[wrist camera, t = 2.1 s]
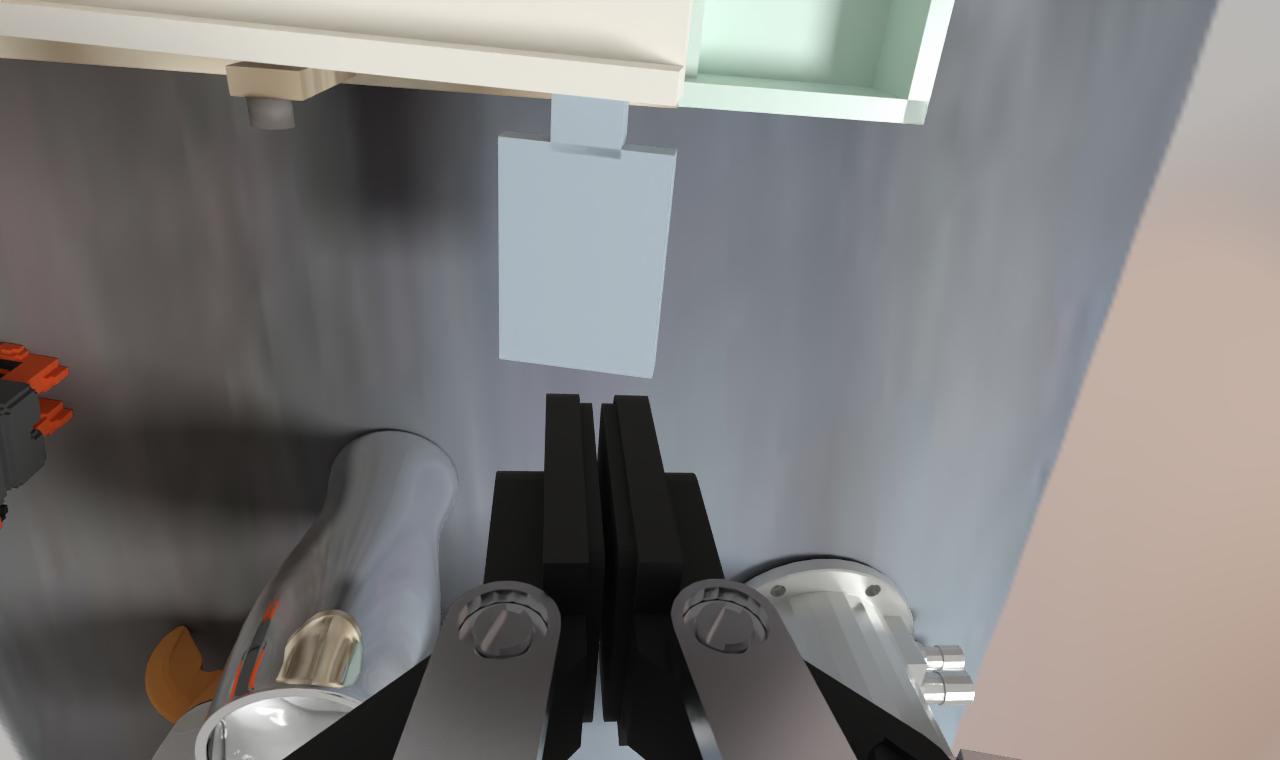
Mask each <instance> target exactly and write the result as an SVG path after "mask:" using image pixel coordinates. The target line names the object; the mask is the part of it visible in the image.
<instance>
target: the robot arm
mask: <svg viewBox="0 0 1280 760" xmlns="http://www.w3.org/2000/svg"><path fill="white" fill-rule="evenodd" d="M913 635H914V623H913V616H912V613H911V611H910V608H909V606H908V604H907V602H906V600H905V599H904V597H903V595H902V594H901V592H900V590H899V589H898V587H897V586H896V585H895V584H894V583H893V582H892V581H891V580H890V579H889V578H888V577H887V576H885V575H883V574H882V573H880V572H878V571H877V570H875V569H873V568H871V567H868V566H865V565H863V564H860V563H857V562H852V561H846V560H840V559H813V560H806V561H799V562H794V563H790V564H787V565H783V566H780V567H777V568H774V569H771V570H769V571H767V572H765V573H763V574H760V575H758V576H756V577H754V578H753V579H751V580H749V581H748V582H746V583H745V584H742V583H740V582H735V581H731V580H726V579H725V578H724V574H723V570H722V567H721V563H720V560H719V556H718V552H717V549H716V545H715V542H714V538H713V534H712V531H711V527H710V524H709V520H708V516H707V513H706V509H705V506H704V502H703V498H702V495H701V491H700V488H699V484H698V480H697V478H696V475H695V474H694V473H664V468H663V464H662V459H661V455H660V450H659V445H658V441H657V436H656V431H655V427H654V422H653V418H652V413H651V408H650V404H649V399H648V396H629V395H615V396H614V401H613V404H605V403H602V405H601V415H600V429H599V444H598V458H597V456H596V444H595V433H594V421H593V409H592V403H580V398H579V394H546V426H545V462H544V471H497V473H496V479H495V487H494V496H493V505H492V513H491V522H490V531H489V539H488V548H487V557H486V566H485V574H484V583H483V585H480V586H478V587H476V588H474V589H472V590H470V591H468V592H466V593H464V594H463V595H462V596H461V597H460V598H459V599H458V600H456V601H455V602H454V603H453V604H452V606H451V608H450V610H449V611H448V613H447V615H446V616H445V619H444V622H443V624H442V627H441V630H440V633H439V635H438V638H437V641H436V643H435V646H434V649H433V652H432V654H431V655H429V656H428V657H427V658H425V659H424V660H422V661H421V662H419V663H418V664H417V665H415V666H414V667H412V668H411V669H410V670H408V671H407V672H405V673H404V674H403V675H401V676H400V677H398V678H397V679H395V680H394V681H393V682H391V683H390V684H388V685H387V686H386V687H384V688H383V689H381V690H380V691H378V692H377V693H376V694H374V695H373V696H371V697H370V698H369V699H367V700H366V701H364V702H363V703H361V704H360V705H359V706H357V707H356V708H354V709H353V710H352V711H350V712H349V713H347V714H346V715H345V716H343V717H342V718H340V719H339V720H337V721H336V722H335V723H333V724H332V725H330V726H329V727H328V728H326V729H325V730H323V731H322V732H320V733H319V734H318V735H316V736H315V737H313V738H312V739H311V740H309V741H308V742H306V743H305V744H303V745H302V746H301V747H299V748H298V749H296V750H295V751H294V752H292V753H291V754H289V755H288V756H286V757H285V758H284V759H282V760H568V759H569V758H570V757H571V756H572V755H573V754H574V753H575V752H576V751H577V750H578V749H579V748H580V747H581V733H582V723H584V722H592V721H593V711H594V699H595V687H596V675H597V663H598V651H599V660H600V676H601V691H602V706H603V718H604V722H613V721H617V725H618V737H619V746H629V747H630V748H632V749H633V750H634V751H635V752H637V753H638V754H639V755H640V756H642V757H643V758H644V759H645V760H1020V759H1015V758H1009V757H1004V756H998V755H992V754H986V753H981V752H976V751H970V750H964V749H960V751H959V754H958V756H957V757H954V755H953V753H952V751H951V749H950V747H949V745H948V743H947V741H946V739H945V737H944V735H943V734H942V732H941V730H940V728H939V726H938V724H937V722H936V720H935V718H934V716H933V714H932V712H931V710H930V708H929V706H928V704H938V705H968V704H971V703H972V701H973V700H974V687H973V682H972V680H971V678H970V676H969V674H968V673H967V672H966V671H964V670H962V669H963V668H964V663H965V660H964V654H963V651H962V649H961V648H960V647H959V646H958V645H935V646H934V647H923V646H922V644H921V643H919V642H918V641H916V642H915V640H914V638H913ZM931 669H937V670H934V671H933V672H926V670H931Z"/></svg>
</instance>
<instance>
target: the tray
mask: <svg viewBox="0 0 1280 760" xmlns="http://www.w3.org/2000/svg"><path fill="white" fill-rule="evenodd" d="M954 1H955V0H693V3H692V12H691V22H690V31H689V41H688V51H687V60H686V70H685V80H684V89H683V95H682V97H681V98H680V100H679V102H678V103H677V106H681V107H694V108H707V109H721V110H734V111H747V112H761V113H774V114H787V115H800V116H814V117H827V118H840V119H854V120H867V121H880V122H894V123H907V124H920V125H923V124H924V120H925V116H926V112H927V108H928V104H929V100H930V96H931V92H932V88H933V84H934V80H935V76H936V72H937V68H938V64H939V60H940V56H941V52H942V48H943V44H944V40H945V36H946V32H947V28H948V24H949V21H950V17H951V13H952V9H953V5H954Z"/></svg>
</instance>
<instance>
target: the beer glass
mask: <svg viewBox="0 0 1280 760" xmlns="http://www.w3.org/2000/svg"><path fill="white" fill-rule="evenodd" d="M457 495H458V477H457V473H456V470H455V468H454V465H453V464H452V462H451V460H450V459H449V457H448V456H447V455H446V454H445V453H444V452H443V451H442V450H441V449H440V448H439V447H438V446H436V445H435V444H434V443H432V442H430V441H429V440H427V439H425V438H423V437H420V436H418V435H415V434H412V433H408V432H402V431H377V432H372V433H369V434H365V435H363V436H360V437H358V438H356V439H355V440H353V441H351V442H350V443H349V444H347V445H346V446H345V447H344V448H343V449H342V450H341V451H340V452H339V454H338V455H337V457H336V458H335V460H334V463H333V465H332V468H331V471H330V476H329V482H328V489H327V497H326V501H325V504H324V506H323V509H322V511H321V512H320V514H319V516H318V517H317V519H316V520H315V522H314V523H313V524H312V526H311V527H310V528H309V530H308V531H307V532H306V533H305V534H304V536H303V537H302V538H301V539H300V541H299V542H298V543H297V544H296V546H295V547H294V548H293V549H292V551H291V552H290V553H289V555H288V556H287V557H286V558H285V560H284V561H283V562H282V564H281V565H280V566H279V567H278V569H277V570H276V572H275V573H274V574H273V576H272V577H271V579H270V580H269V582H268V583H267V585H266V586H265V588H264V589H263V590H262V592H261V593H260V595H259V596H258V598H257V600H256V602H255V604H254V605H253V607H252V609H251V611H250V613H249V615H248V617H247V618H246V620H245V622H244V624H243V626H242V628H241V630H240V632H239V634H238V637H237V639H236V641H235V643H234V646H233V648H232V650H231V652H230V655H229V657H228V659H227V662H226V664H225V667H224V670H223V672H222V675H221V677H220V680H219V683H218V685H217V688H216V691H215V693H214V696H213V699H212V702H211V705H210V707H209V710H208V713H207V715H206V718H205V720H204V723H203V725H202V727H201V728H200V730H199V732H198V735H197V737H196V741H195V748H194V754H195V760H282V759H284V758H285V757H286V756H288V755H289V754H291V753H292V752H294V751H295V750H296V749H298V748H299V747H301V746H302V745H303V744H305V743H306V742H308V741H309V740H311V739H312V738H313V737H315V736H316V735H318V734H319V733H320V732H322V731H323V730H325V729H326V728H328V727H329V726H330V725H332V724H333V723H335V722H336V721H337V720H339V719H340V718H342V717H343V716H345V715H346V714H347V713H349V712H350V711H352V710H353V709H354V708H356V707H357V706H359V705H360V704H361V703H363V702H364V701H366V700H367V699H369V698H370V697H371V696H373V695H374V694H376V693H377V692H378V691H380V690H381V689H383V688H384V687H386V686H387V685H388V684H390V683H391V682H393V681H394V680H395V679H397V678H398V677H400V676H401V675H403V674H404V673H405V672H407V671H408V670H410V669H411V668H412V667H414V666H415V665H417V664H418V663H419V662H421V661H422V660H424V659H425V658H427V657H428V656H429V655H431V654H432V652H433V649H434V646H435V643H436V641H437V638H438V635H439V633H440V618H441V596H440V573H439V539H440V535H441V531H442V528H443V526H444V524H445V522H446V520H447V518H448V517H449V515H450V513H451V511H452V509H453V506H454V504H455V502H456V498H457Z"/></svg>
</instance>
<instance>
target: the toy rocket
mask: <svg viewBox="0 0 1280 760" xmlns="http://www.w3.org/2000/svg"><path fill="white" fill-rule="evenodd" d="M202 669H203V661H202V656H201V654H200V652H199V650H198V648H197V646H196V644H195V642H194V640H193V638H192V636H191V634H190V633H189V631H188V629H187V628H186V627H185V626H179V627H177V628H175V629H174V630H173V631H171V632H170V633H169V634H167V635H166V636H165V637H164V638H163V639H162V640H161V642H160V643H159V644H158V646H157V647H156V648H155V650H154V651H153V653H152V655H151V657H150V659H149V661H148V664H147V669H146V674H145V685H146V692H147V694H148V697H149V699H150V701H151V703H152V705H153V706H154V707H155V709H156V710H157V711H158V712H159V714H161V715H162V716H163V717H164V718H166V719H167V720H168V721H170V722H171V723H173V724H175V725H174V726H173V728H172V730H171V731H170V732H169V734H168V735H167V737H166V738H165V740H164V741H163V743H162V744H161V745H160V747H159V748H158V750H157V751H156V753H155V755H154V756H153V758H152V760H195V754H194V748H195V741H196V737H197V735H198V732H199V730H200V728H201V727H202V725H203V723H204V720H205V718H206V715H207V713H208V710H209V707H210V705H211V702H212V699H213V696H214V693H215V691H216V688H217V685H218V683H219V680H220V677H221V675H222V672H223V670H220V669H219V670H215V671H212V672H207V671H202Z"/></svg>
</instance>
